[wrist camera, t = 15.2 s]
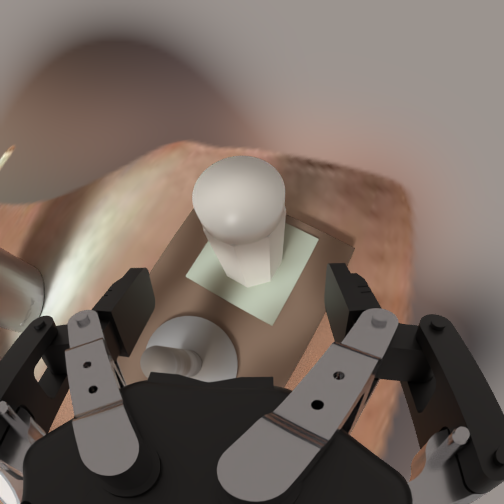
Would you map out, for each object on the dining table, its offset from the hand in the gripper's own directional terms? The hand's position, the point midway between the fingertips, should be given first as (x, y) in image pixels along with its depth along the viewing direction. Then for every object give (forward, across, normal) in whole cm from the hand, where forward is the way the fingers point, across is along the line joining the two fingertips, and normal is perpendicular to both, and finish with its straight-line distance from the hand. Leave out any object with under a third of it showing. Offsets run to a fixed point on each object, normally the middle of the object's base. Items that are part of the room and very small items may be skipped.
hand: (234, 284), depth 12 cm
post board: (+11, +3, +9) cm, 14 cm away
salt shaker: (+13, 0, +5) cm, 13 cm away
